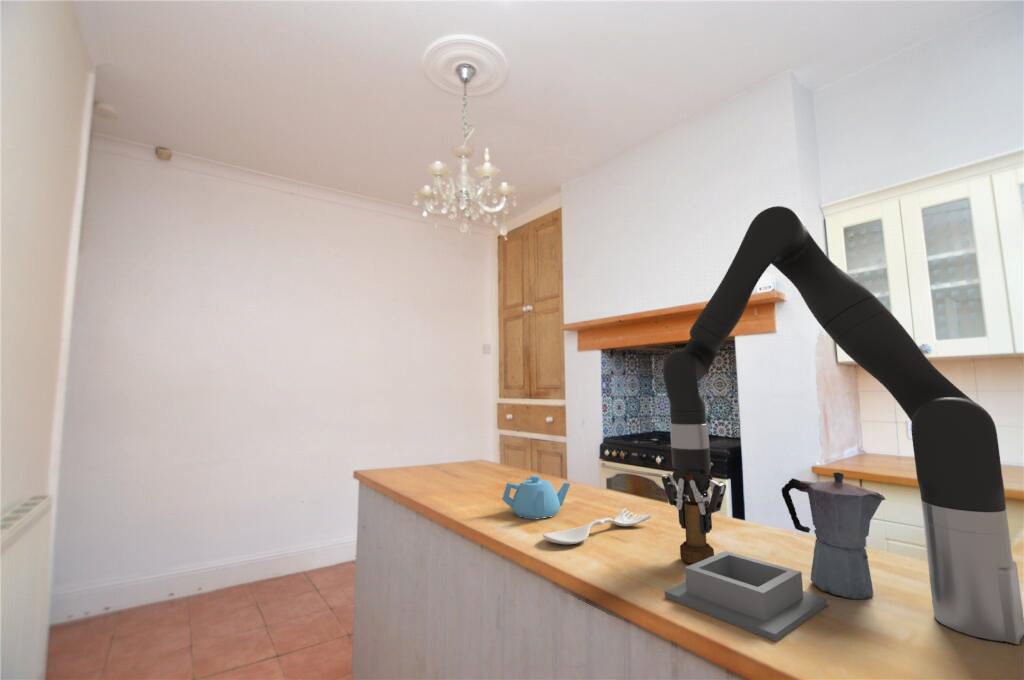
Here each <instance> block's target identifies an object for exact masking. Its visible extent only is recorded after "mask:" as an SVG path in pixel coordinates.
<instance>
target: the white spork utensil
mask: <svg viewBox="0 0 1024 680" xmlns="http://www.w3.org/2000/svg"><path fill="white" fill-rule="evenodd" d="M632 515H633V516H632ZM651 518H652V515H651V513H649V514H647V515H646V514H644V515H643V514H640V515H639V516H638V514H634V512H631V511H630V510H627V508H626V507H625V508H622V510H621V511H619V513H618V514H617V515H616V516H615V517H614V519H613V518H611V517H604V518H599V519H594V520H592V521H591V522H588V523H586V524H584V525H581V526H577V527H572V528H568V529H562V530H558V531H557V530H556V531H551V532H545V533H543V534H542V537H543V538H544V540H545V541H547V542H551V543H554V544H559V545H565V546H568V545H569V546H570V545H574V544H575V545H576V544H579V543H581V542H584V541H585V540H586V539H588V537H589V535H590V531H591V528H593V527H596V526H602V525H605V524H606V523H610V524H613V525H616V526H619V527H632V526H634V525H637V524H639V523H643V522H646V521H648V520H650V519H651Z"/></svg>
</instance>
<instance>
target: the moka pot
mask: <svg viewBox="0 0 1024 680" xmlns="http://www.w3.org/2000/svg"><path fill="white" fill-rule="evenodd" d="M832 474H833V478H834V480H830V481H829V480H828V481H826V480H825V481H817V482H812V481H806V480H799V479H797V478H793V477H792V478H791V479H789V480H788V482H786V483H785V484H784V486H783V487H782V488H781V489H780V490H781V495H782V498H783V500H784V503H785V505H786V507H787V510H788V513H789V515H790V519H791V521H792V523H793V526H794V528H795V530H797V531H801V532H803V533H810V531H811V528H810V527H809V526H804V525H802V524H801V522H800V519H799V517H798V514H797V511H796V508H795V504H794V502H793V499H792V496H791V494H790V491H791V490H793V489H795V490H798V492H803V493H807V495H808V500H809V501H808V502H809V507H810V511H811V512H810V513H811V518H812V525H813V527H814V530H813V531H814V535H815V538H816V539H815V542H814V548H813V557H812V565H811V571H810V581H811V582H812V584H813V585H815V586H816V587H817V588H818V589H820V590H822V591H824V592H827V593H829V594H832V595H835V596H839V597H842V598H843V597H844V598H846V599H852V600H867V599H869V598H871V597H872V596H873V594H874V588H873V583H872V577H871V571H870V566H869V559H868V558H869V555H868V553H867V549H866V546H867V545H866V541H867V539H866V538H867V537H869V535H870V534H869V533H870V525H871V520H872V519H873V518H874V516H875V514H876V512H877V510H878V508H879V506H880V505H881V503H882V501H885V500H887V499H886V497H885V496H884V495H883V494H880V493H879V492H876V491H874V490H870V489H866V488H865V487H863V486H859V485H855V484H852V483H847V482H844V481H843V480H844V475H845V474H844V473H841V472H837V471H836V472H833V473H832Z"/></svg>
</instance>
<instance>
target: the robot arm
mask: <svg viewBox="0 0 1024 680" xmlns="http://www.w3.org/2000/svg"><path fill="white" fill-rule="evenodd" d="M742 238H743V239H742V241H741V243H740V246H739V247H738V250H737V252H736V254H735V255H734V258H733V259H732V261H731V263H730V264H729V267H728V269H727V271H726V272H725V275H724V276H723V278H722V279H721V282H720V283H719V285H718V286H717V288H716V290H715V291H714V293H713V295H712V296H711V298H710V299H709V300H708V303H706V305H705V306H704V308H703V310H702V311H701V312H700V314H699V316H698V317H697V318H696V320H695V322H694V323H693V325H692V326H691V328H690V330H689V336H690V338H689V340H688V341H687V343H686V345H685V347H684V348H683V349H682V350H681V349H677V350H673V351H672V352H670V353H668V355H667V356H666V357H665V358H664V362H663V368H662V374H663V375H662V376H663V381H664V385H665V390H666V394H667V397H668V400H669V408H670V410H669V411H670V412H669V413H670V447H671V450H670V451H671V464H672V465H671V466H672V468H673V472H672V475H665V476H662V477H661V482H662V484H663V485H662V486H663V488H664V492H665V495H666V497H667V500H668V504H669V505H670V506H674V507H676V509H677V511H678V522H679V525H680V528H682V529H684V530H686V529H685V511H684V502H685V501H690V499H689V496H688V495H689V492H691V494H692V496H694V497H695V500H696V502H697V503H698V505H699V509H700V512H701V514H700V523H701V533H704V534H706V535H707V534H709V533H710V532H711V531H712V530H713V521H712V519H713V518H712V515H713V514H714V513H718V512H720V511H721V509H722V505H723V502H724V501H723V500H724V497H725V492H726V490H727V485H726V484H725V483H724V482H717V481H716V480H714V479H713V476H712V474H711V467H712V466H711V455H710V454H711V453H710V452H711V451H710V450H711V449H710V437H709V436H710V435H709V431H708V426H707V415H706V403H705V400H704V398H703V397H702V396H701V395H700V392H699V384H698V382H700V381H701V380H702V379H703V378H704V377H705V375H707V373H708V372H709V370H710V368H711V366H712V365H713V363H714V361H715V359H716V357H717V355H718V352H719V350H720V348H721V347H722V346H723V344H724V343H725V342H726V340H727V339H728V337H729V336H730V335H731V333H732V332H733V330H734V329H735V328H736V326H737V324H738V323H739V321H740V319H741V318H742V316H743V314H744V312H745V310H746V308H747V306H748V303H749V301H750V299H751V296H752V294H753V292H754V289H755V288H756V286H757V285H758V282H759V281H760V279H761V277H762V276H763V275H764V274H765V271H767V269H768V268H769V267H770V266H771V265H772V266H773V267H775V269H777V270H778V271H779V272H780V273H781V274H782V275H783V276H785V277H786V278H787V280H788V281H790V282H791V284H793V286H794V287H795V288H796V289H797V291H798V292H799V295H801V297H802V299H803V301H804V303H805V305H806V306H807V308H808V309H809V311H810V312H811V314H812V315H813V317H814V318H815V320H816V321H817V322H818V324H819V325H820V326H821V327H822V329H823V330H824V331H825V332H826V333H827V334H828V336H829V337H830V338H831V339H832V340H833V341H834V343H835V344H836V345H837V346H838V347H839V348H840V349H841V350H842V351H843V352H844V353H845V354H846V355H847V356H848V357H849V358H851V360H852V361H854V362H855V363H856V364H857V365H858V366H859V367H860V368H862V369H863V370H864V371H866V372H867V373H868V374H869V375H871V377H873V378H874V379H876V381H878V382H879V383H880V384H881V385H882V386H883V387H884V388H885V389H886V390H887V391H888V393H890V394H891V396H892V397H893V399H894V400H895V401H896V402H897V403H898V405H899V406H900V407H901V409H902V410H903V412H904V413H905V415H907V417H908V418H909V420H910V422H911V428H910V429H911V438H912V439H911V441H912V448H913V449H912V450H913V454H914V455H913V457H914V464H915V471H916V472H915V473H916V478H917V484H918V488H919V495H920V499H921V508H922V518H923V529H924V537H925V546H926V554H927V556H926V557H927V565H928V573H929V574H928V575H929V584H930V593H931V604H932V610H933V616H934V619H936V621H937V622H939V623H941V625H944V626H946V627H947V628H949V629H952V630H954V631H957V632H959V633H962V634H965V635H968V636H973V637H976V638H980V639H985V640H990V641H998V642H1004V641H1005V643H1009V642H1010V643H1011V644H1014V645H1017V644H1019V643H1021V642H1022V640H1021V639H1023V638H1024V610H1023V602H1022V593H1021V589H1020V580H1019V572H1018V564H1017V562H1016V561H1014V559H1013V553H1012V544H1011V538H1010V537H1011V536H1010V530H1009V529H1010V528H1009V521H1008V513H1007V507H1006V505H1007V504H1006V497H1005V496H1006V494H1005V486H1004V479H1003V478H1004V477H1003V471H1002V470H1003V469H1002V463H1001V454H1000V448H999V447H1000V445H999V439H998V432H997V428H996V423H995V421H994V419H993V417H992V416H991V414H990V413H989V412H988V411H987V410H986V409H985V408H983V406H981V404H978V403H977V402H975V401H974V400H972V398H970V397H969V396H968V395H967V394H965V393H964V392H963V391H962V390H960V389H959V388H958V387H957V386H956V385H955V384H953V382H951V381H950V380H949V379H948V378H946V376H945V375H943V374H942V373H941V372H940V371H939V370H938V369H937V368H936V367H935V366H934V365H933V364H932V362H930V360H929V359H928V358H927V357H926V355H925V354H924V353H923V351H922V350H921V348H920V347H919V346H918V345H917V343H916V342H915V340H914V339H913V338H912V335H910V334H909V332H907V330H906V329H905V328H904V326H903V325H902V324H901V322H900V321H899V319H897V318H896V317H895V316H894V315H893V313H892V312H891V311H890V310H889V309H888V308H887V307H886V306H885V305H884V304H883V303H882V301H880V300H879V299H878V298H877V297H876V296H875V294H873V293H872V292H871V291H870V290H869V289H868V288H867V287H865V285H863V284H862V283H860V281H858V280H857V279H855V278H854V277H853V276H852V275H851V274H849V273H847V272H846V271H844V270H843V269H842V268H841V267H839V266H837V265H836V264H835V263H834V262H833V261H832V260H831V259H830V258H829V257H828V256H827V254H826V253H825V252H824V251H823V249H822V248H821V247H820V246H819V245H818V243H817V241H816V240H815V239H814V237H812V235H811V233H810V232H809V230H808V229H807V226H806V225H805V224H804V221H803V220H802V219H801V218H800V216H799V215H798V214H797V213H796V212H795V211H794V210H793V209H792V208H789V207H786V206H784V205H783V206H782V205H777V206H776V205H775V206H772V207H767V208H766V209H764V210H761V211H760V212H759V213H758V214H757V215H756V216H755V217H754V218H753V220H751V223H750V224H749V226H748V228H747V229H746V232H745V234H744V236H743V237H742ZM686 472H691V473H692V475H693V479H692V480H690V482H688V481H687V480H686V478H685V473H686ZM676 485H677V486H676ZM709 489H710V492H712V493H711V495H710V493H709ZM1020 641H1021V642H1020ZM1019 645H1020V644H1019Z"/></svg>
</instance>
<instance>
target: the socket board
mask: <svg viewBox="0 0 1024 680" xmlns="http://www.w3.org/2000/svg"><path fill="white" fill-rule="evenodd" d="M684 573H685V574H684V575H685V582H682V583H681V584H677V585H675V586H674V587H670V588H669V589H667V590H666V589H665V591H664V598H665V599H668V600H671V601H673V602H675V603H678V604H680V605H683V606H686V607H688V608H691V609H693V610H695V611H698V612H700V613H702V614H703V613H704V614H705V615H708V616H710V617H713V618H716V619H718V620H721V621H723V622H725V623H728V624H730V625H732V626H735V627H738V628H741V629H743V630H746V631H748V632H751V633H753V634H755V635H757V636H760V637H763V638H766V639H768V640H771V641H772V642H778V641H779V640H780V639H782V638H784V636H786V635H787V634H789V633H791V632H792V631H793V630H794V629H796V628H797V627H799V626H800V625H801V624H803V623H804V622H806V621H807V620H808V619H810V618H811V617H812V616H814V615H815V614H817V613H818V612H819V611H821V610H822V609H824V608H825V607H827V606H828V598H827V597H825V596H820V595H817V594H814V593H811V592H808V591H804V589H803V577H802V576H803V575H802V571H801V570H797V569H794V568H788V567H786V566H782V565H779V564H775V563H771V562H767V561H764V560H760V559H756V558H754V557H750V556H745V555H742V554H738V553H734V552H731V551H727V550H724V551H721V552H719V553H717V554H714V556H712V557H709V558H707V559H704V560H702V561H700V562H697V563H695V564H693V563H691V564H689V565H687V566H686V567H684Z"/></svg>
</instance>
